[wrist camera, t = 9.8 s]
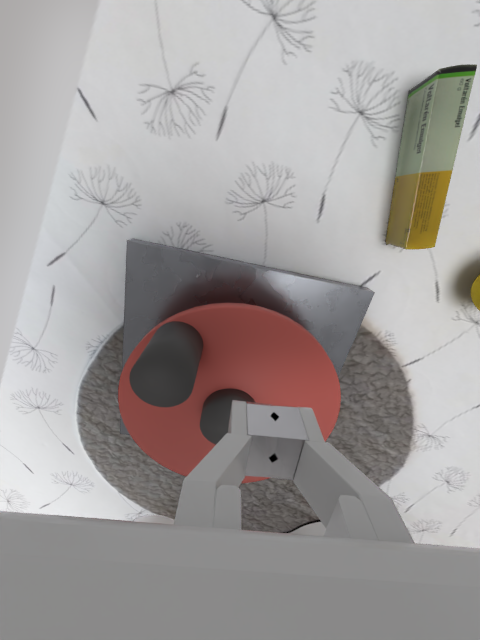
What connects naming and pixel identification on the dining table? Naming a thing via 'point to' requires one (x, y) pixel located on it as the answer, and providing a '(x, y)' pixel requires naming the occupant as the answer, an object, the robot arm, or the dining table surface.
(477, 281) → the lemon
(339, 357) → the valve stand
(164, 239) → the dining table surface
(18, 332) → the dining table surface
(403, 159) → the medication box
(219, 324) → the handwheel
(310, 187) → the dining table surface
